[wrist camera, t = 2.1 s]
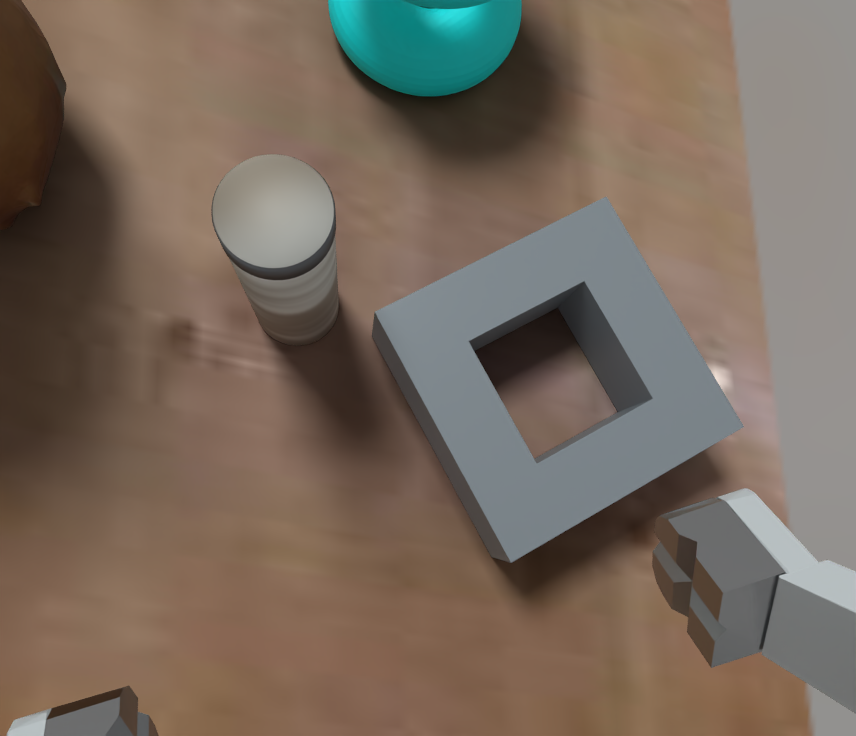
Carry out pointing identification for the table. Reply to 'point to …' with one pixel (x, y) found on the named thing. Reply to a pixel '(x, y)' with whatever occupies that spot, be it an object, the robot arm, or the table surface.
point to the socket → (603, 347)
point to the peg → (281, 244)
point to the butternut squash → (26, 110)
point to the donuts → (426, 41)
